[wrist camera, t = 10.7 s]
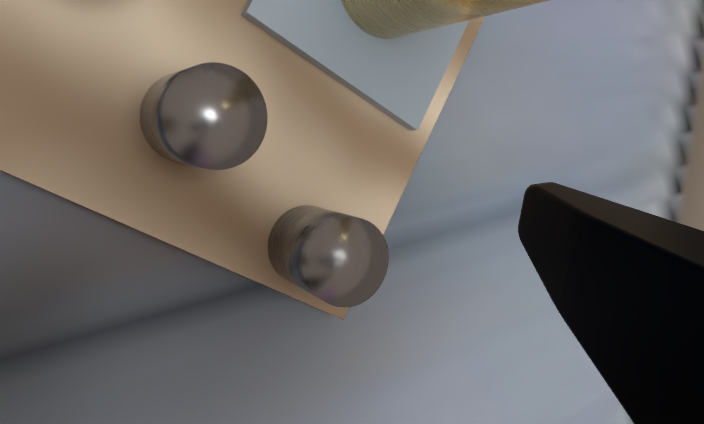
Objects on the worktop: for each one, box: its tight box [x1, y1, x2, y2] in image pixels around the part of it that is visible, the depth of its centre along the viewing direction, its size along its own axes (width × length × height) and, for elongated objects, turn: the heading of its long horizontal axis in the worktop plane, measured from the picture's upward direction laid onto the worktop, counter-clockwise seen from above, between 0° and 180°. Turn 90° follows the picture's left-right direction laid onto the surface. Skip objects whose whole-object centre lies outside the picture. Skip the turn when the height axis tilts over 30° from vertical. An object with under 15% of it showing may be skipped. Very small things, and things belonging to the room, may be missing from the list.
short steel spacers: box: [140, 62, 389, 307], centre depth 18 cm, size 8×18×4 cm, turn 61°
